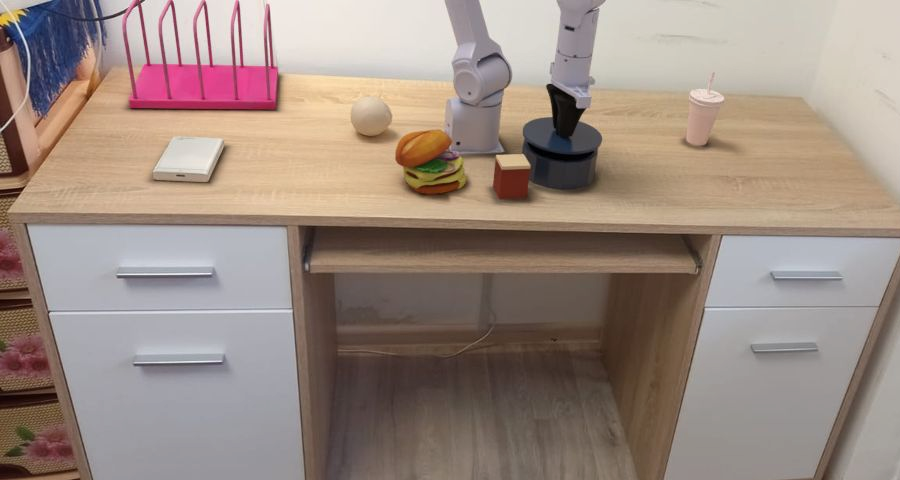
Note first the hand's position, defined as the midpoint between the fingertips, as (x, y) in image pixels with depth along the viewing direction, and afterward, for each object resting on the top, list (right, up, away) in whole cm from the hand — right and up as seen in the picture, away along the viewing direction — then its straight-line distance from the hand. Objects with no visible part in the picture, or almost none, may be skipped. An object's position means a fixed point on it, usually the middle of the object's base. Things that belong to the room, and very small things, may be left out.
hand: (562, 131), depth 136 cm
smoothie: (+27, +1, +20) cm, 34 cm away
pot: (-1, -7, +4) cm, 8 cm away
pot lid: (0, -1, 0) cm, 1 cm away
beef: (-9, -11, -3) cm, 14 cm away
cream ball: (-33, +1, +11) cm, 35 cm away
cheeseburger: (-22, -9, -2) cm, 23 cm away
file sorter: (-65, +11, +20) cm, 69 cm away
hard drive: (-60, -6, -4) cm, 60 cm away
